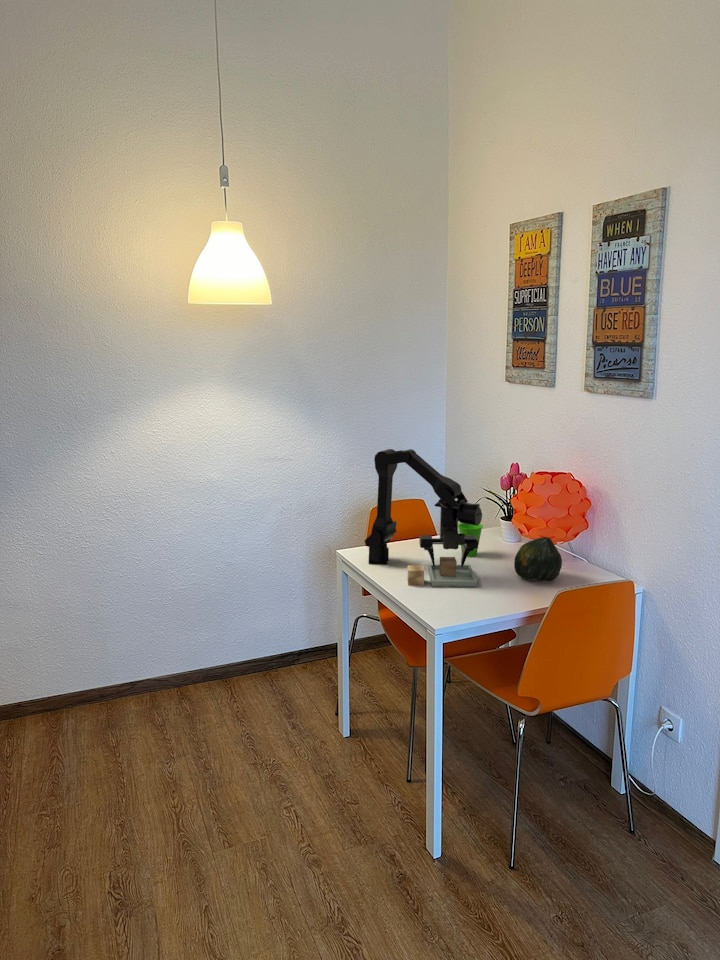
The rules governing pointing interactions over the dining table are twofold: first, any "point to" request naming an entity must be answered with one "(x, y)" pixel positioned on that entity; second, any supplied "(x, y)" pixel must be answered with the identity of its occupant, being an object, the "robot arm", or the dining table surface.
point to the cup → (470, 534)
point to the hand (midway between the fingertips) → (447, 566)
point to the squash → (538, 560)
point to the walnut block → (447, 566)
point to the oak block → (416, 575)
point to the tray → (453, 577)
